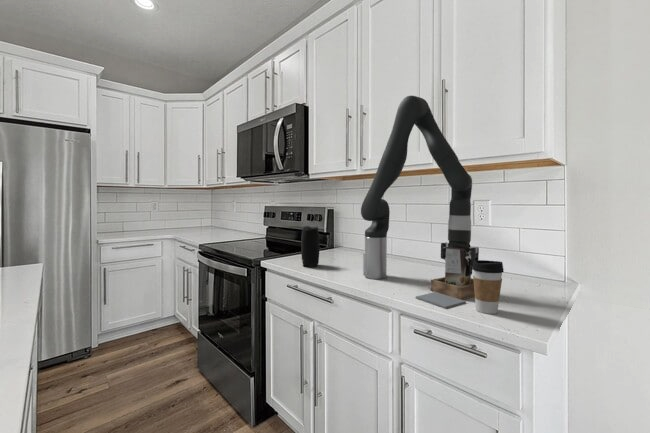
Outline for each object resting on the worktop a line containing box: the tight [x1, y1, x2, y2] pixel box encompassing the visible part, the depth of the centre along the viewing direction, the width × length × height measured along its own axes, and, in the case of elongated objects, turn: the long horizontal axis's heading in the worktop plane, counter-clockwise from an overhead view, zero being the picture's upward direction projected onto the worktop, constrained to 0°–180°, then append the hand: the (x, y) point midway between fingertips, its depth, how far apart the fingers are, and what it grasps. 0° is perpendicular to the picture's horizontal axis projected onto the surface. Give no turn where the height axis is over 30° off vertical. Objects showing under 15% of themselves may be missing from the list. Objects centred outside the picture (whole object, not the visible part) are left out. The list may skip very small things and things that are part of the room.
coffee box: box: [444, 247, 472, 287], centre depth 116 cm, size 9×6×16 cm
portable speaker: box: [300, 225, 320, 268], centre depth 161 cm, size 9×9×20 cm
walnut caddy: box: [430, 276, 475, 300], centre depth 117 cm, size 12×14×4 cm
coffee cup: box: [472, 259, 505, 315], centre depth 97 cm, size 8×8×15 cm
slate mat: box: [415, 291, 467, 310], centre depth 107 cm, size 12×10×1 cm
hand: (458, 273), depth 116 cm, fingers closed on coffee box, 7 cm apart
